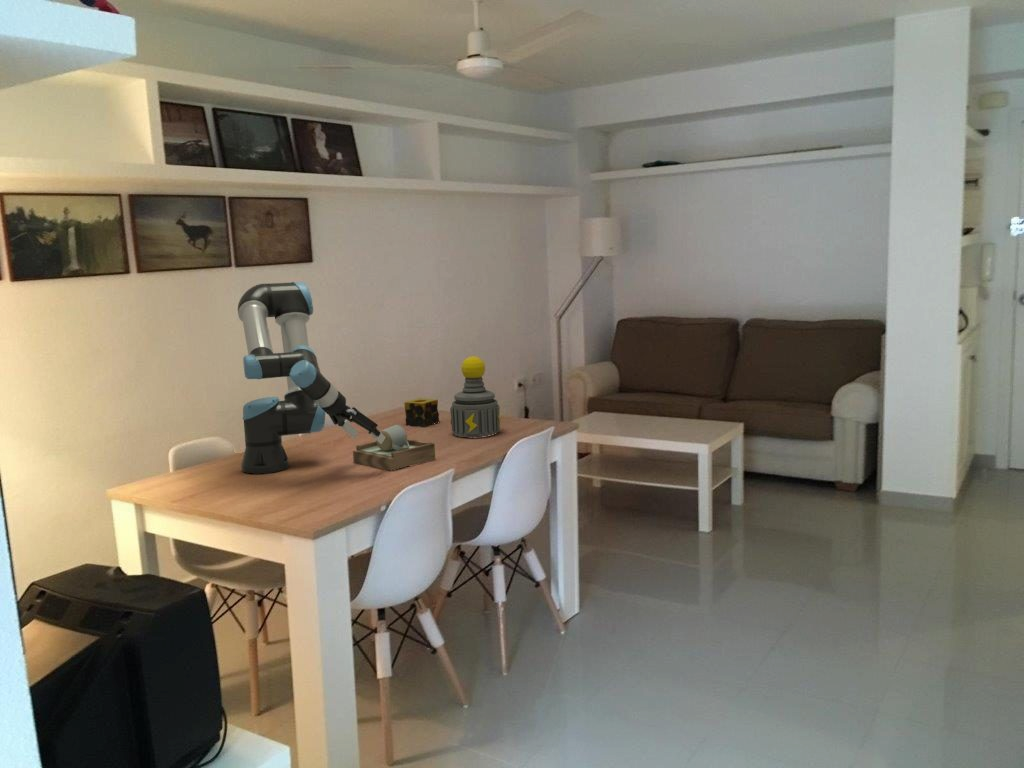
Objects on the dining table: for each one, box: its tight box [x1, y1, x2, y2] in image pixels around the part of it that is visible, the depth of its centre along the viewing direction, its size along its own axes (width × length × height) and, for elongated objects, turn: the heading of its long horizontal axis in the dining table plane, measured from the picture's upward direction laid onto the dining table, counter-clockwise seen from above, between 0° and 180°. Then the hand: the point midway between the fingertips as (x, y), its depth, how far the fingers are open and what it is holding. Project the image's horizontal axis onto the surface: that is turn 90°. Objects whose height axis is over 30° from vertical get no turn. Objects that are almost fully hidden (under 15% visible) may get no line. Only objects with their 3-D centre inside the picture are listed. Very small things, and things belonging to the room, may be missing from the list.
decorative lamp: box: [449, 355, 501, 438], centre depth 322 cm, size 19×19×30 cm
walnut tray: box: [352, 438, 436, 472], centre depth 284 cm, size 20×19×6 cm
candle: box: [404, 398, 440, 428], centre depth 346 cm, size 10×10×10 cm
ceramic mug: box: [375, 424, 409, 451], centre depth 281 cm, size 11×8×8 cm
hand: (369, 437), depth 276 cm, fingers open, 13 cm apart
